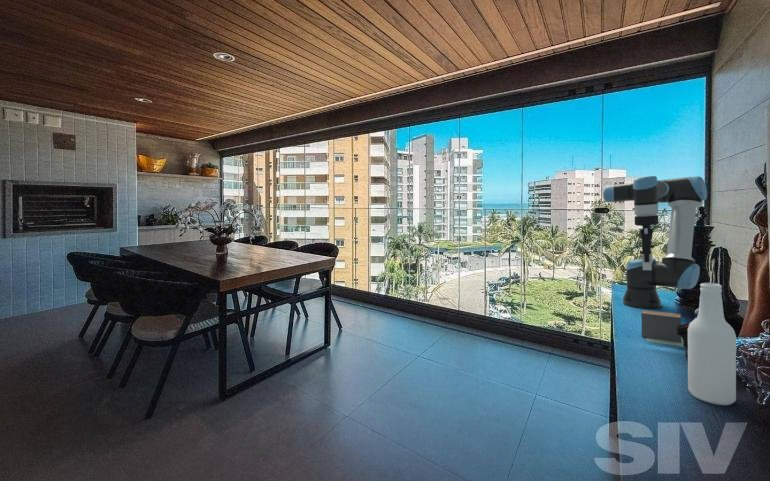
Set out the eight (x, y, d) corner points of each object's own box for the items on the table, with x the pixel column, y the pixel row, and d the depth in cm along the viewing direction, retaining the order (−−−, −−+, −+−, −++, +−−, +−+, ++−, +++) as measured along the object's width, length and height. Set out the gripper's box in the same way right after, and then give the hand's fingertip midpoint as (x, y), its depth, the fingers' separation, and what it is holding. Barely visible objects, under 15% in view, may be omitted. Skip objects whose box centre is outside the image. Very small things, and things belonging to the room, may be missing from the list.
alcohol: (724, 390, 87) (724, 281, 85) (744, 409, 79) (744, 288, 77) (682, 385, 90) (681, 280, 88) (696, 402, 82) (696, 287, 80)
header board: (645, 327, 134) (645, 315, 133) (689, 333, 125) (689, 320, 124) (642, 343, 119) (641, 329, 119) (691, 351, 110) (691, 336, 110)
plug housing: (642, 332, 125) (642, 309, 125) (681, 338, 118) (680, 313, 117) (641, 336, 122) (641, 313, 121) (681, 342, 114) (681, 317, 114)
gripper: (636, 213, 142) (637, 260, 144) (632, 218, 123) (634, 272, 125) (658, 212, 137) (659, 261, 139) (658, 216, 118) (659, 273, 120)
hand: (647, 266), depth 132 cm, fingers open, 13 cm apart
